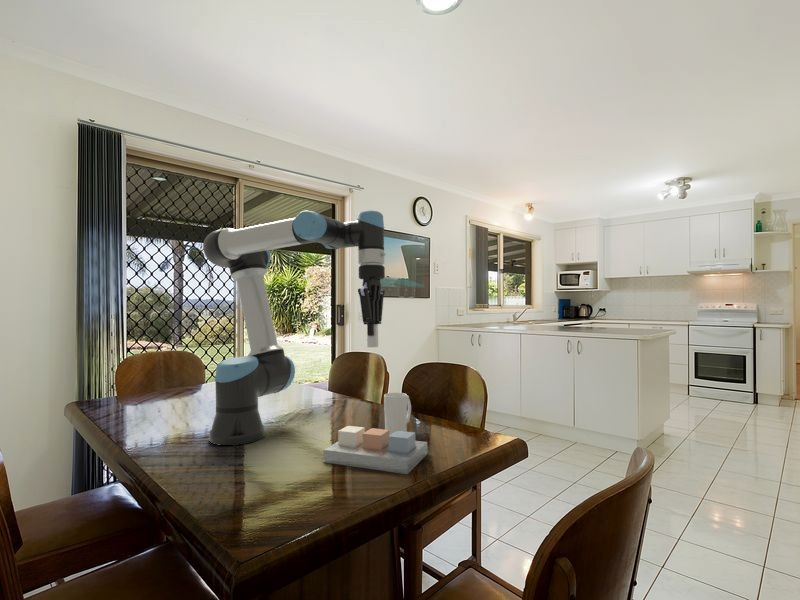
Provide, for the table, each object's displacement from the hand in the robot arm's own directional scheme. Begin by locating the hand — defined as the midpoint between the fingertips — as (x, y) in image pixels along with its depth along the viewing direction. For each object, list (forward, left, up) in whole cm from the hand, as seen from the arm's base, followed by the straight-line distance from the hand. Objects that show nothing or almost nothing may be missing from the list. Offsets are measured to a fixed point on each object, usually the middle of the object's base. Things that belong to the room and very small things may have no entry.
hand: (372, 347), depth 117 cm
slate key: (+14, -13, -25) cm, 31 cm away
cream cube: (0, -13, -25) cm, 28 cm away
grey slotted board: (+7, -13, -26) cm, 30 cm away
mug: (+5, +7, -27) cm, 28 cm away
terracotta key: (+7, -13, -25) cm, 29 cm away
